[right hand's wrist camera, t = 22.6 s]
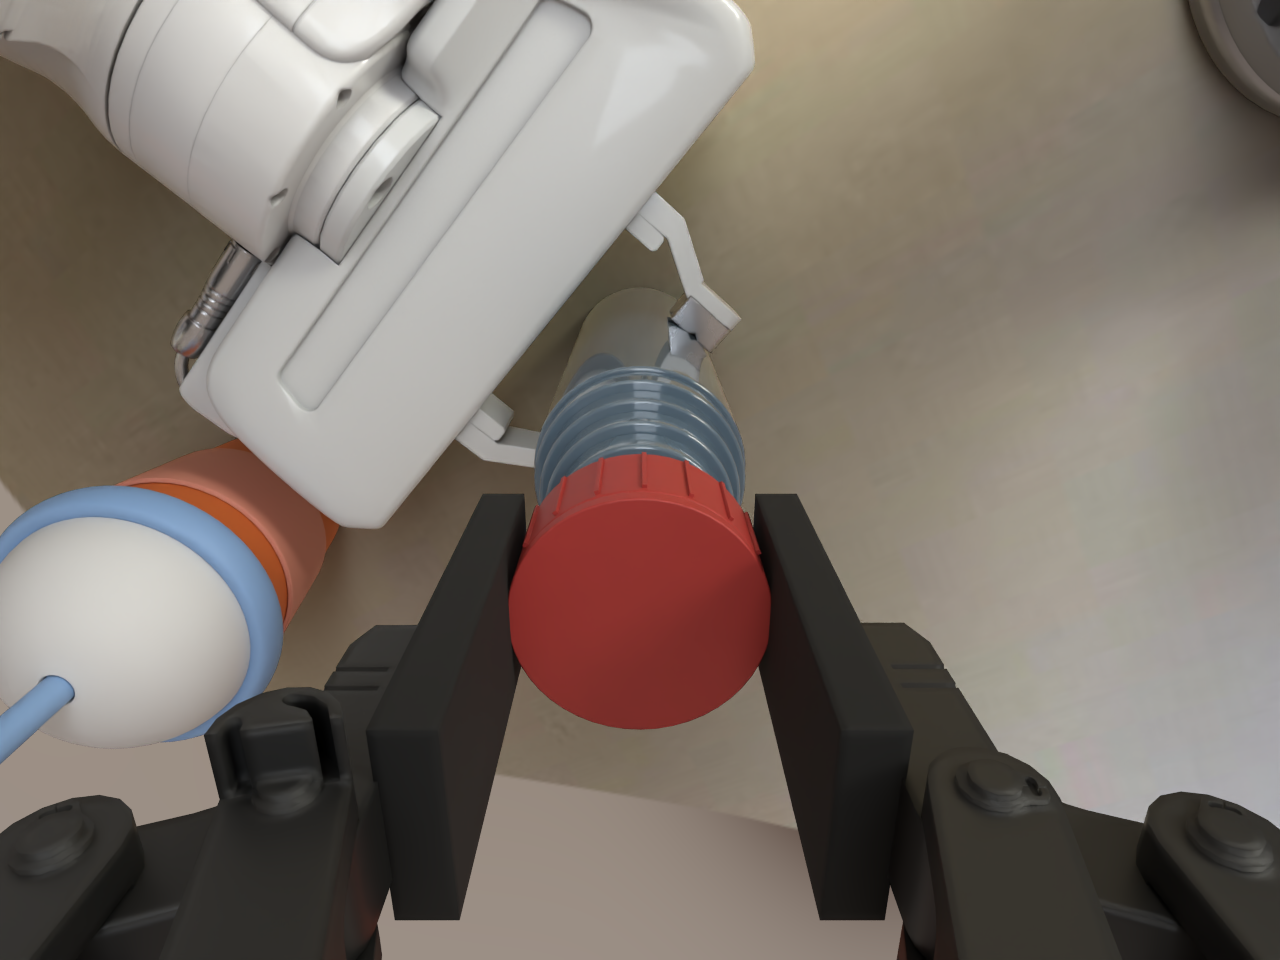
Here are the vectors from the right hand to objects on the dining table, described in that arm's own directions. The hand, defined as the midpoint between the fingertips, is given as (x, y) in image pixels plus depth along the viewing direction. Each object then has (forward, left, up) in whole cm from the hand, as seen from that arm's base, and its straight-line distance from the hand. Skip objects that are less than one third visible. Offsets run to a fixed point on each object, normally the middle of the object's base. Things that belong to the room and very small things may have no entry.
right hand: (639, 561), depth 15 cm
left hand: (0, +1, -13) cm, 13 cm away
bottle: (0, 0, -19) cm, 19 cm away
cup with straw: (+9, -15, -19) cm, 26 cm away
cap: (0, 0, +2) cm, 2 cm away
